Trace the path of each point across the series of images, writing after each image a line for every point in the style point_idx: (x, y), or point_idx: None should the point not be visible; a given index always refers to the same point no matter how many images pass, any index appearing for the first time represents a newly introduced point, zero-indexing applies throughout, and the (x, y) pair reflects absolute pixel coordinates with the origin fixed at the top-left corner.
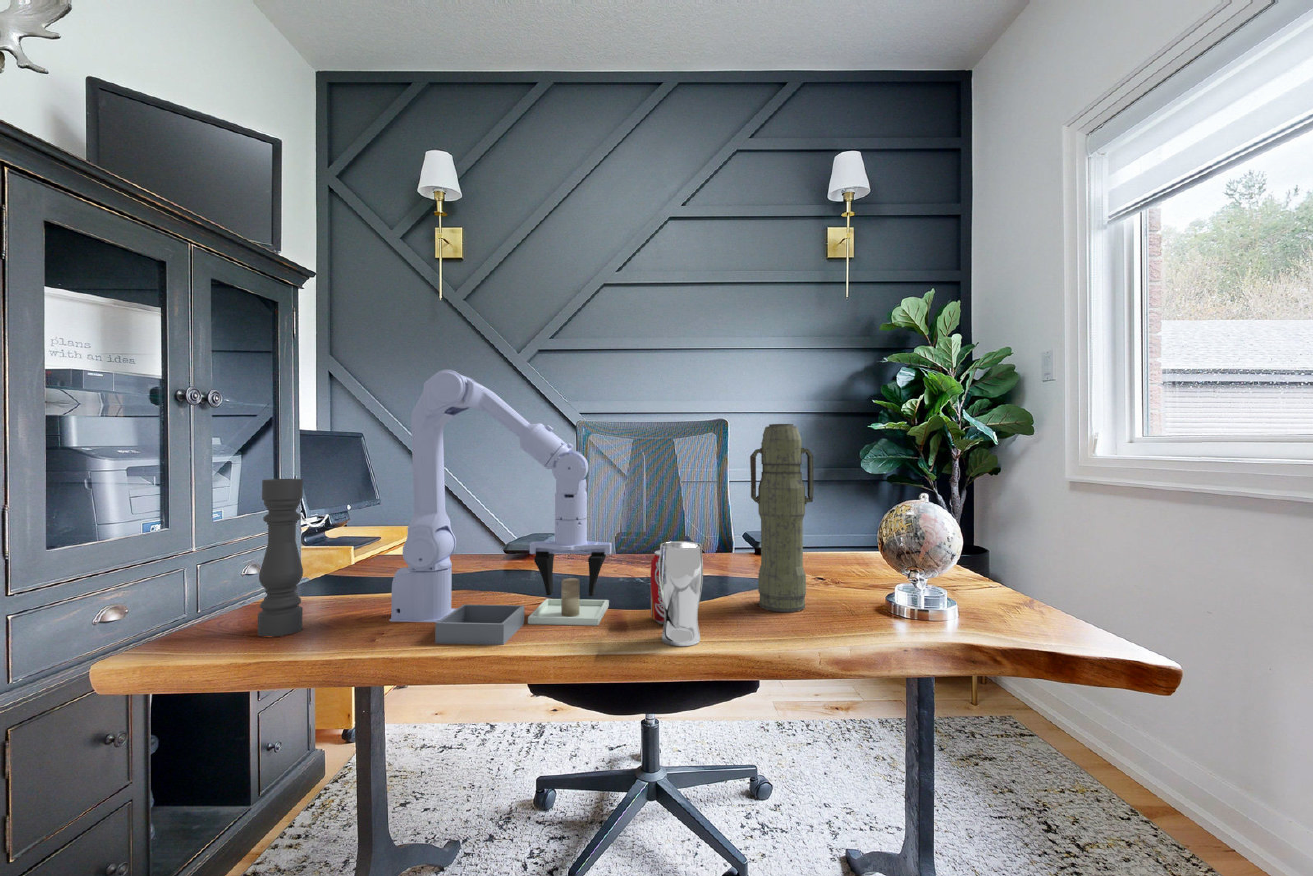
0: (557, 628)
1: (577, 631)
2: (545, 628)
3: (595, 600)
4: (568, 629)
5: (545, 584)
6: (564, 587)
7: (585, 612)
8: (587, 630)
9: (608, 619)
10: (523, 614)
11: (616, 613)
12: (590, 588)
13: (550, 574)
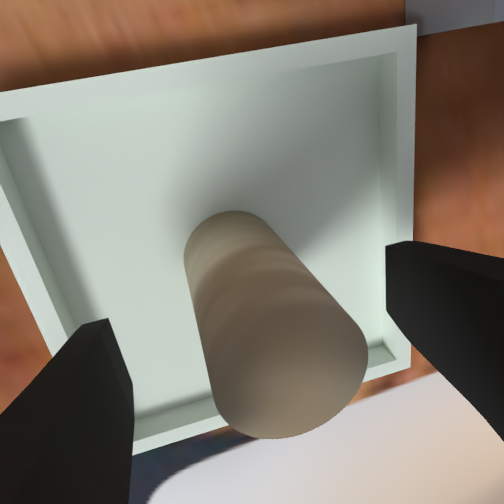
0: (218, 44)
1: (67, 8)
2: (284, 28)
3: (168, 432)
4: (145, 39)
5: (467, 254)
6: (305, 282)
7: (165, 305)
8: (13, 45)
9: (8, 284)
10: (454, 7)
11: (25, 384)
12: (78, 347)
13: (494, 360)
